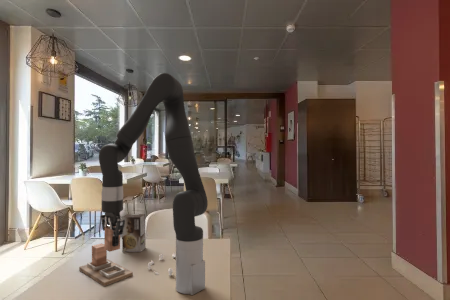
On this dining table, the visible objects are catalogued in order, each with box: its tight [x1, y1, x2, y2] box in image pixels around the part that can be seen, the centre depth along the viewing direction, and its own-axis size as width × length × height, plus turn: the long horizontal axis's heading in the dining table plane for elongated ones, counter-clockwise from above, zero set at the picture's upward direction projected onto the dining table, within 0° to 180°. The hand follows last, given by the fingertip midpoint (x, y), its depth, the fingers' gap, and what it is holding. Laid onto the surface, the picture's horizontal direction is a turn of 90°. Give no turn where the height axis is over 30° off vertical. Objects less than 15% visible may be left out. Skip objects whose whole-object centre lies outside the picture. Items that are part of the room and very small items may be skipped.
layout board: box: [78, 243, 134, 287], centre depth 110 cm, size 20×11×9 cm, turn 49°
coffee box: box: [121, 213, 147, 253], centre depth 135 cm, size 9×6×16 cm
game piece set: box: [147, 251, 176, 277], centre depth 117 cm, size 19×20×4 cm
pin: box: [103, 226, 121, 253], centre depth 107 cm, size 4×4×8 cm
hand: (112, 244), depth 107 cm, fingers closed on pin, 4 cm apart
